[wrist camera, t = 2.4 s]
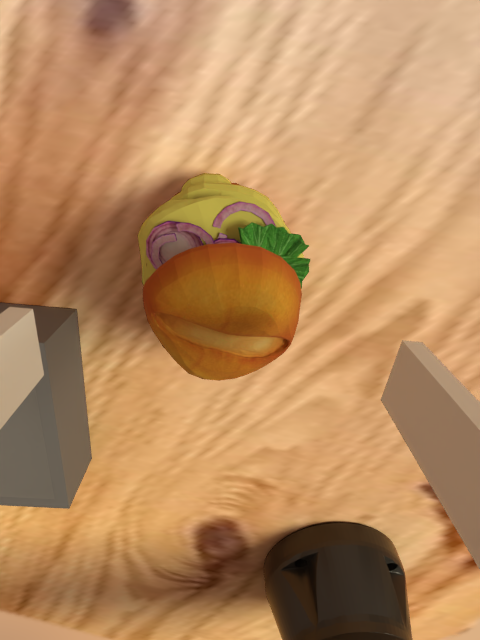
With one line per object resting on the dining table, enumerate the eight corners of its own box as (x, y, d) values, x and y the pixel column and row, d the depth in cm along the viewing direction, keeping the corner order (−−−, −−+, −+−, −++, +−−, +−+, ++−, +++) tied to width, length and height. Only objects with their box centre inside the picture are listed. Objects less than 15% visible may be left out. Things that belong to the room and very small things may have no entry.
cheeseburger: (288, 151, 22) (333, 221, 14) (295, 292, 28) (329, 391, 21) (126, 180, 22) (83, 263, 14) (172, 313, 29) (159, 417, 21)
